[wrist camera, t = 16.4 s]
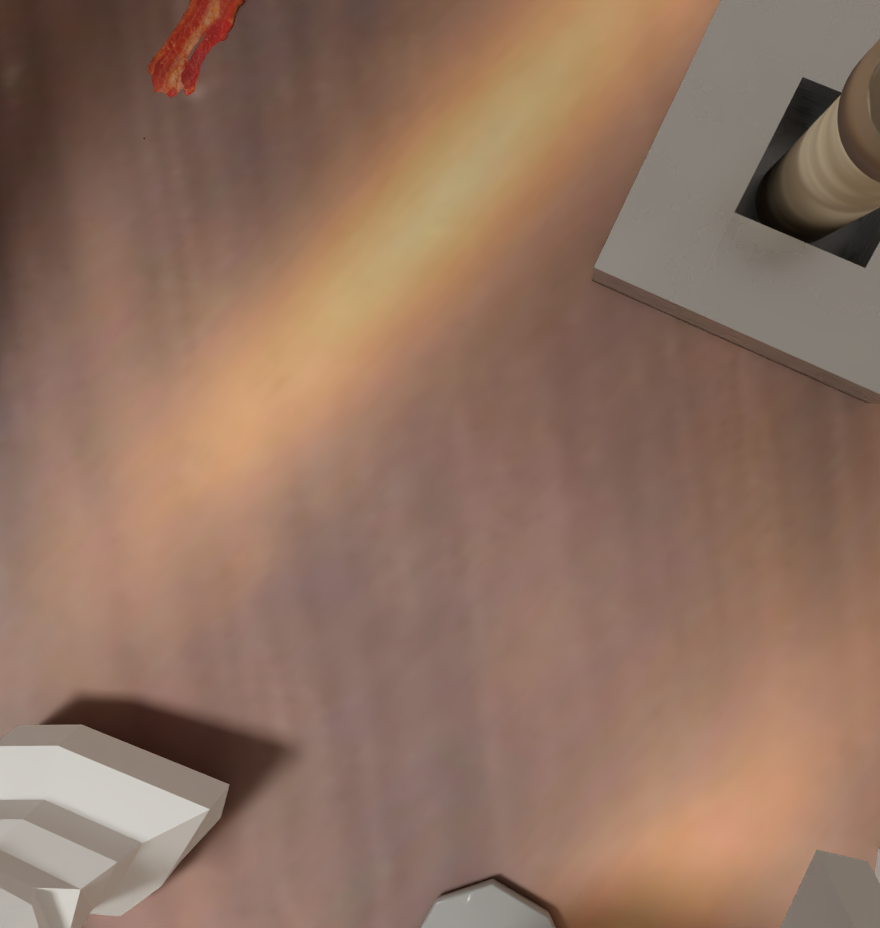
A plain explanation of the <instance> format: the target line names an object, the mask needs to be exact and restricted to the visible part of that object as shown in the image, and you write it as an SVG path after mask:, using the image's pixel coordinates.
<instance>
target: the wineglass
mask: <svg viewBox="0 0 880 928" xmlns="http://www.w3.org/2000/svg"><path fill="white" fill-rule="evenodd" d="M420 928H556V926H555V924H554V922H553V920H552V918H551V916H550V914H549V912H548V910H546V909H544V908H543V907H541V906H539V905H538V904H536V903H534V902H532V901H531V900H529V899H527V898H526V897H524V896H522V895H520V894H519V893H517V892H515V891H514V890H512V889H510V888H509V887H507V886H505V885H503V884H502V883H500V882H498V881H497V880H495V879H493V878H492V879H489V880H486V881H483V882H480V883H477V884H474V885H471V886H468V887H465V888H462V889H459V890H456V891H453V892H450V893H447V894H444V895H441V896H438V897H437V898H436V900H435V902H434V903H433V905H432V907H431V909H430V910H429V912H428V914H427V916H426V917H425V919H424V921H423V923H422V924H421V926H420Z"/></svg>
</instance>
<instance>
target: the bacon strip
mask: <svg viewBox="0 0 880 928" xmlns="http://www.w3.org/2000/svg"><path fill="white" fill-rule="evenodd" d="M243 2H244V0H191V1H190V4H189V7H188V9H187V11H186V13H185V14H184V15H183V18H182V19H181V21H180V23H179V24H178V26H177V27H176V29H175V30H174V31H173V33H172V34H171V35H170V37H169V38H168V40H167V41H166V43H165V44H164V46H163V47H162V48H161V49H160V50H159V52H158V53H157V54H156V55H155V57H154V58H153V60H152V61H151V63H150V64H149V73H150V74H151V75H152V83H153V87H154V92H164V93H165V94H166V95H168V96H169V97H170V98H172V97H173V96H175V95H177V94H178V93H179V91H180V90H181V89H182V88H183V90H184V92H185V94H186V95H187V96H188V95H189V94H191V93H193V92H194V91H195V89H196V84H197V79H198V75H199V71H200V66H201V64H202V62H203V60H204V58H205V56H206V54H207V53H208V52H209V51H210V49H211V48H212V47H213V46H214V45H215V44H217V43H218V42H219V41H224V40H226V38H227V36H228V32H229V31H230V30H231V28H232V27H233V24H234V19H235V14H236V13H237V10H238V7H239V6H240V5H242V4H243ZM205 32H206V34H205V36H204V38H203V41H202V42H201V43H200V44H199V46H198V47H197V48H196V50H195V51H194V53H193V55H192V57H191V59H190V60H189V62H188V63H187V60H188V57H189V55H190V53H191V51H192V49H193V48H194V46H195V45H196V44H197V43H198V41H199V40H200V39H201V37H202V36H203V35H204V33H205ZM144 139H145V138H144Z"/></svg>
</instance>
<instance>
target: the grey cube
mask: <svg viewBox="0 0 880 928" xmlns="http://www.w3.org/2000/svg"><path fill="white" fill-rule="evenodd" d="M875 876H876V878H877V880H878V881H879V883H880V848H878V855H877V863H876V870H875Z"/></svg>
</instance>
